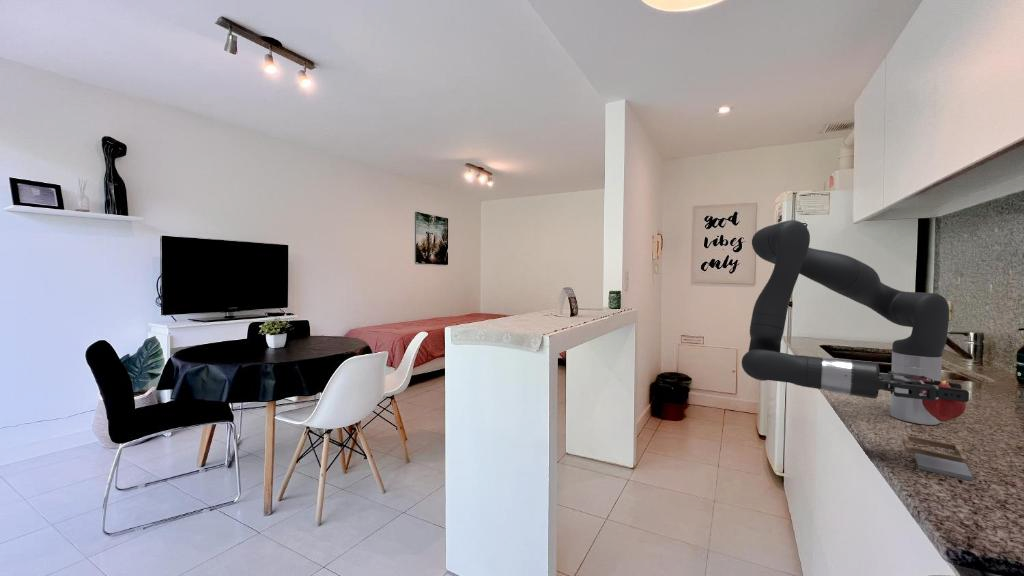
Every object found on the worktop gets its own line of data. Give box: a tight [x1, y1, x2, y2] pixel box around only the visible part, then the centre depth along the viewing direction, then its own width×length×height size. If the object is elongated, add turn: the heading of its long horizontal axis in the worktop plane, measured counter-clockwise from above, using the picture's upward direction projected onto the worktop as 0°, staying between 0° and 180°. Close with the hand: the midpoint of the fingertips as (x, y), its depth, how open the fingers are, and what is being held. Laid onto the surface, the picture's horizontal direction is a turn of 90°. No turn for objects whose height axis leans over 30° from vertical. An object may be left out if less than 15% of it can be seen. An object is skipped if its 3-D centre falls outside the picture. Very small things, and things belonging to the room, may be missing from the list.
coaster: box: [914, 453, 974, 482], centre depth 79 cm, size 7×7×1 cm
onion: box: [922, 380, 967, 423], centre depth 79 cm, size 6×6×8 cm
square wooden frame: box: [902, 434, 969, 465], centre depth 87 cm, size 9×9×1 cm
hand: (963, 392), depth 77 cm, fingers closed on onion, 5 cm apart
